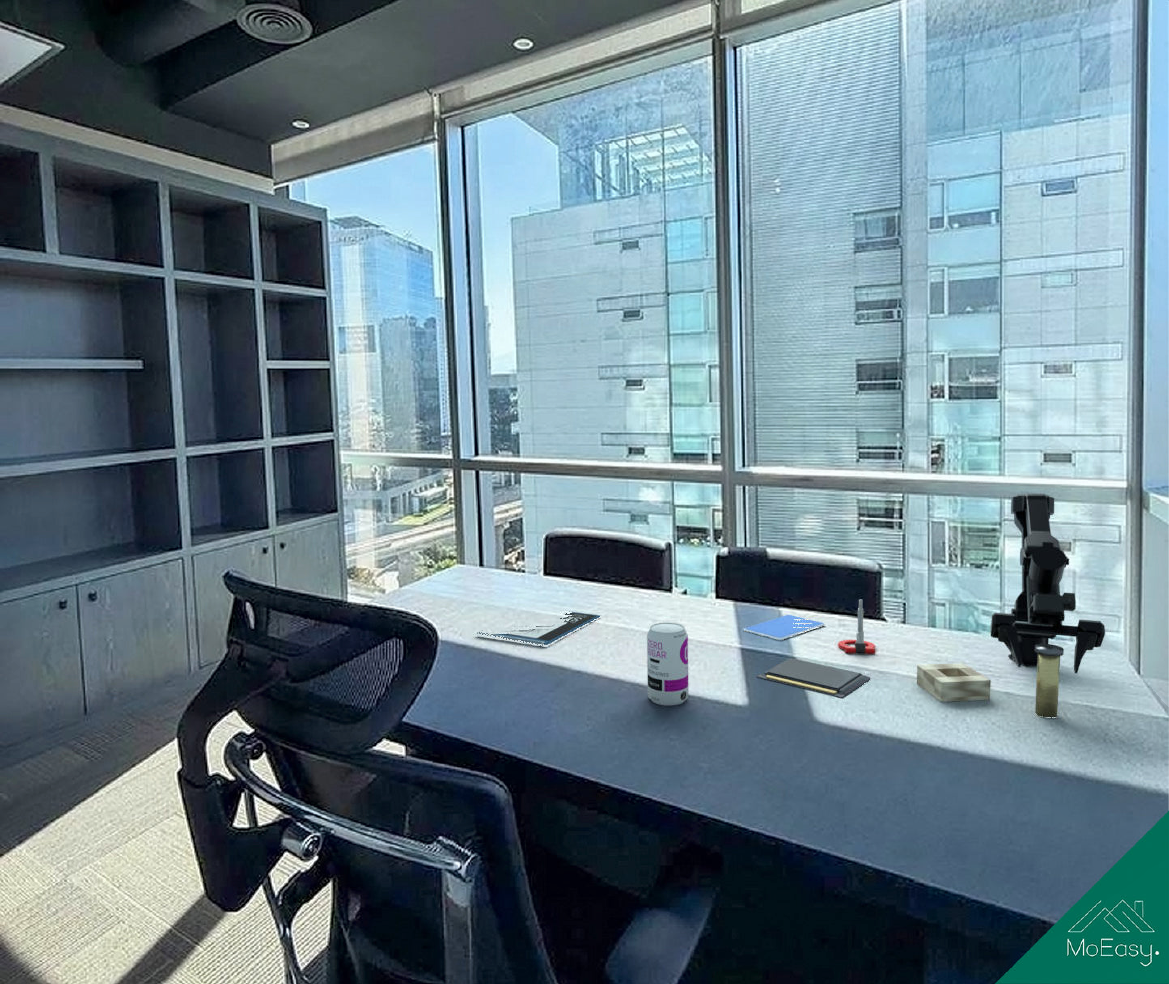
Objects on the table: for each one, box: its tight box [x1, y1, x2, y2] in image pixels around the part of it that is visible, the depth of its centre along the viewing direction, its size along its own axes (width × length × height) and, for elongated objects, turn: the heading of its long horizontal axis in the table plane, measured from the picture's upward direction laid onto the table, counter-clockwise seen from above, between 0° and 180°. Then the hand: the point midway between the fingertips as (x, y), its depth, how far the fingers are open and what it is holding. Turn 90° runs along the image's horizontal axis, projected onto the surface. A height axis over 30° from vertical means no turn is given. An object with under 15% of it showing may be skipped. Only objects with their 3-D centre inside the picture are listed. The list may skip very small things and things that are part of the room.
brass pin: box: [1034, 643, 1065, 718], centre depth 147 cm, size 5×5×13 cm
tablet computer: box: [742, 614, 826, 641], centre depth 206 cm, size 19×13×1 cm, turn 128°
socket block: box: [916, 662, 992, 703], centre depth 160 cm, size 10×10×4 cm
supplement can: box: [646, 622, 689, 707], centre depth 159 cm, size 8×8×15 cm
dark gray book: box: [756, 657, 871, 699], centre depth 170 cm, size 20×2×15 cm
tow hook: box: [837, 599, 876, 655], centre depth 188 cm, size 8×13×9 cm
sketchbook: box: [476, 611, 602, 646], centre depth 212 cm, size 22×30×2 cm
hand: (1047, 669), depth 147 cm, fingers open, 9 cm apart
